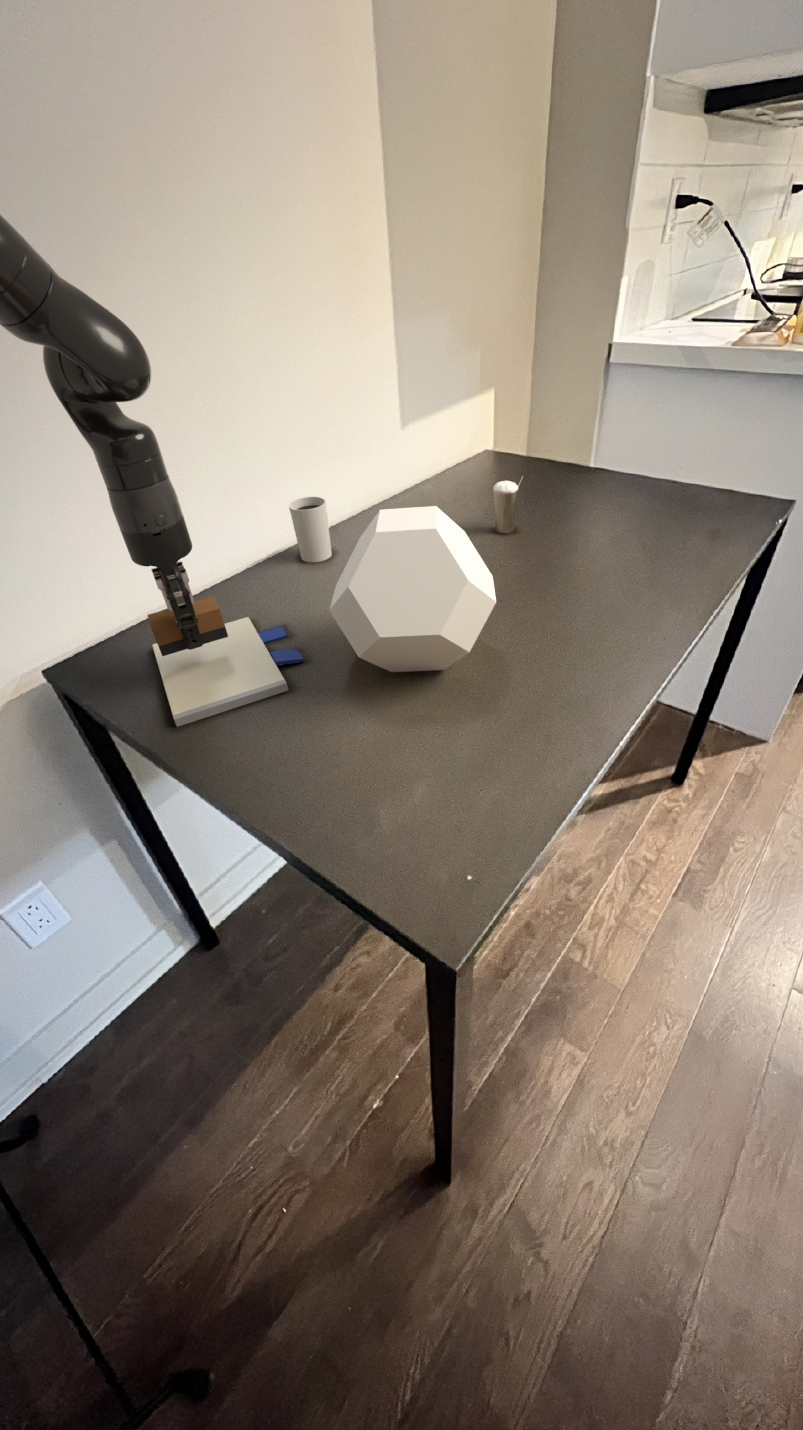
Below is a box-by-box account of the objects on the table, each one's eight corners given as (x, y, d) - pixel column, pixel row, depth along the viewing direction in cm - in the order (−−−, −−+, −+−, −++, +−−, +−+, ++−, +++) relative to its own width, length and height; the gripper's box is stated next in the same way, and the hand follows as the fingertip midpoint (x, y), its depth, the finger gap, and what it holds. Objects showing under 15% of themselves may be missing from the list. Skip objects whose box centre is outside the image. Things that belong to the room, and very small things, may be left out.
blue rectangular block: (275, 665, 87) (275, 661, 87) (270, 655, 90) (270, 651, 89) (303, 662, 89) (303, 658, 89) (297, 652, 91) (297, 648, 91)
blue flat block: (262, 645, 94) (262, 642, 94) (257, 637, 96) (256, 633, 96) (288, 638, 95) (287, 634, 95) (282, 629, 97) (281, 626, 97)
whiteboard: (176, 727, 80) (173, 719, 79) (154, 651, 95) (151, 643, 94) (288, 690, 84) (286, 682, 83) (250, 623, 99) (248, 616, 98)
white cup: (337, 547, 119) (329, 495, 113) (330, 562, 114) (321, 509, 108) (303, 548, 120) (293, 497, 114) (295, 564, 115) (284, 511, 109)
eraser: (228, 636, 86) (219, 608, 83) (162, 656, 83) (151, 627, 80) (222, 624, 89) (213, 596, 86) (158, 643, 86) (147, 614, 83)
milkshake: (522, 533, 117) (524, 480, 111) (494, 535, 118) (494, 482, 112) (519, 524, 121) (521, 471, 115) (491, 526, 121) (492, 474, 115)
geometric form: (420, 607, 99) (411, 479, 86) (519, 652, 87) (525, 511, 74) (319, 660, 89) (292, 525, 77) (414, 720, 77) (401, 571, 64)
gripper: (113, 507, 79) (157, 624, 90) (124, 546, 69) (173, 673, 80) (172, 494, 81) (209, 610, 92) (192, 529, 71) (230, 655, 82)
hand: (192, 638), depth 86 cm, fingers closed on eraser, 4 cm apart
